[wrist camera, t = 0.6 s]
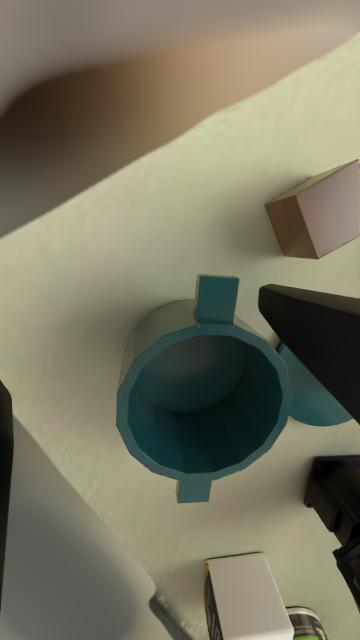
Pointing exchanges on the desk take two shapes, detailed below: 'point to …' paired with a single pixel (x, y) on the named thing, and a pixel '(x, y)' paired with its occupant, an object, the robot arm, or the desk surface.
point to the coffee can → (305, 624)
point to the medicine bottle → (244, 600)
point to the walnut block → (318, 213)
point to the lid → (310, 395)
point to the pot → (200, 390)
